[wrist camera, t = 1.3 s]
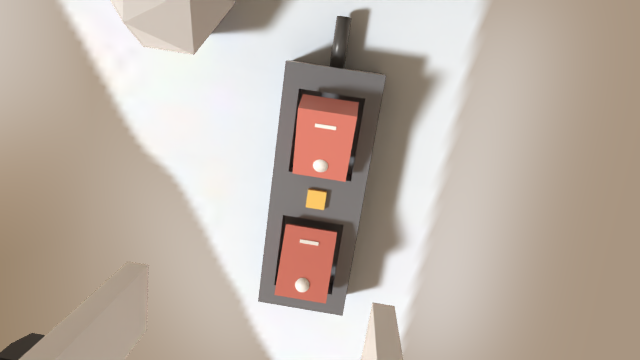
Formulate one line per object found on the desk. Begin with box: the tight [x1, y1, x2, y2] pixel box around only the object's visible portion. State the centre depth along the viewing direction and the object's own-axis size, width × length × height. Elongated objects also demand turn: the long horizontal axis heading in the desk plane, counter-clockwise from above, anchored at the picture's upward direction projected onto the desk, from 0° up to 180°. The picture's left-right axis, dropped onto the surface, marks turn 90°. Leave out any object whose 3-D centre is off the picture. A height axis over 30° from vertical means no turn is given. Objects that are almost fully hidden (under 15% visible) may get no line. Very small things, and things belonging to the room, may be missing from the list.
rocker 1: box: [293, 94, 359, 182], centre depth 34 cm, size 6×4×2 cm
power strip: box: [258, 16, 386, 315], centre depth 37 cm, size 26×8×4 cm, turn 172°
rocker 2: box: [274, 223, 337, 304], centre depth 37 cm, size 6×4×2 cm
